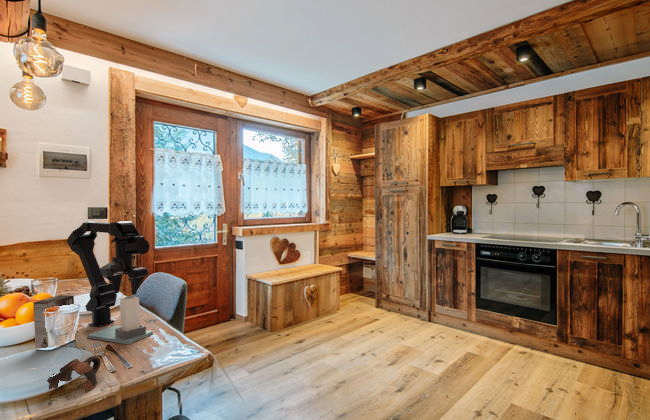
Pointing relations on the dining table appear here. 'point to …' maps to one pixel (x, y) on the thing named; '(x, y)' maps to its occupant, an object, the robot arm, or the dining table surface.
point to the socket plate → (113, 338)
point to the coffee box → (39, 316)
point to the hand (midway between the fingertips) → (125, 294)
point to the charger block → (129, 313)
